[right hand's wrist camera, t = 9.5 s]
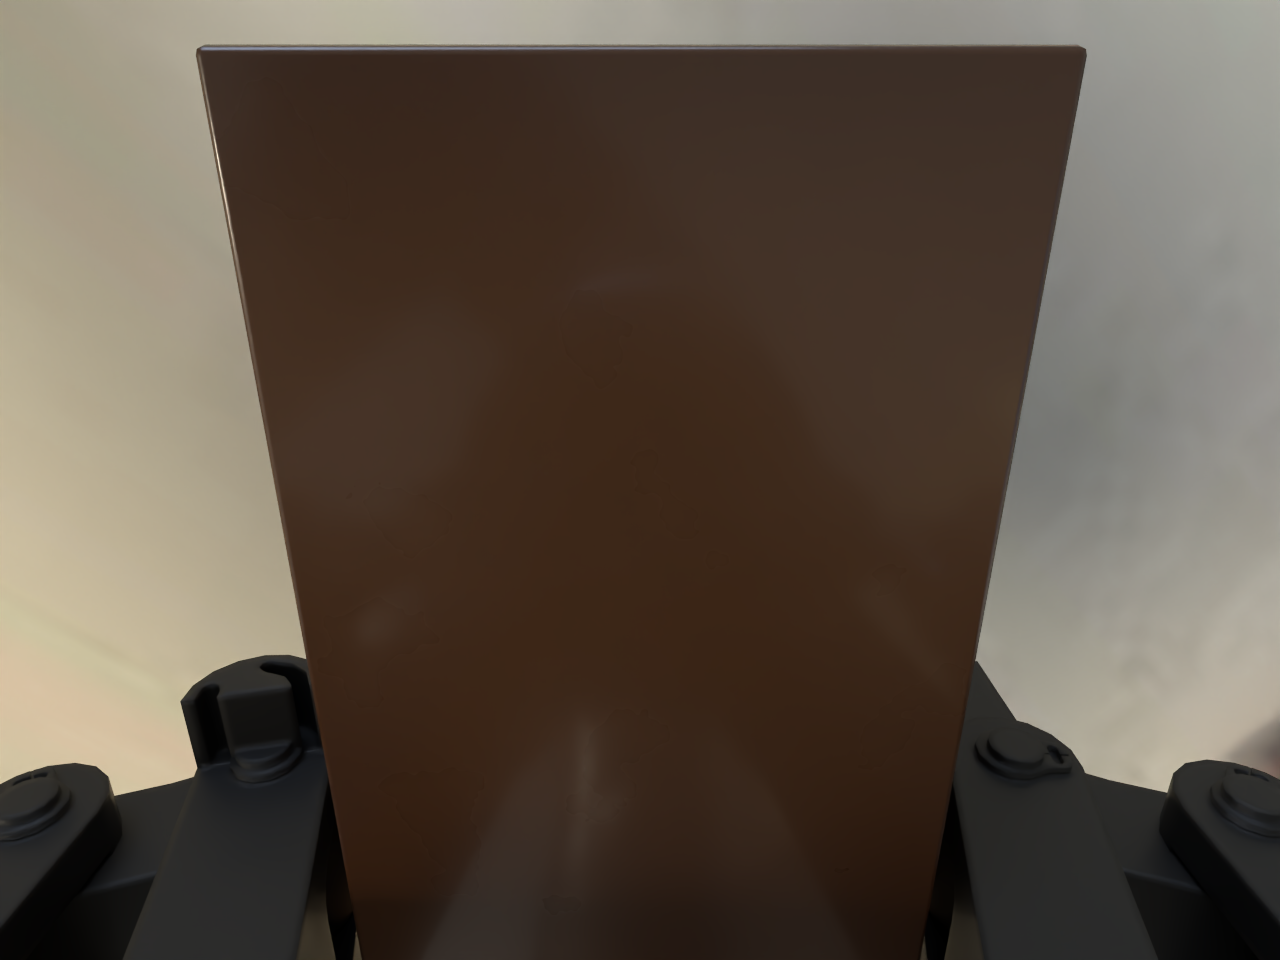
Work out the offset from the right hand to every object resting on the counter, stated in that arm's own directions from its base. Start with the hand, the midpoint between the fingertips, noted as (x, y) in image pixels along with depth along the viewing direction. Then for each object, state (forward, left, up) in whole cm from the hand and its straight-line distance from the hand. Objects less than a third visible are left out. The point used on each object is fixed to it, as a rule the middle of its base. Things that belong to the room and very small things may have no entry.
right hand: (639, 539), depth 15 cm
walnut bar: (0, -10, 0) cm, 10 cm away
